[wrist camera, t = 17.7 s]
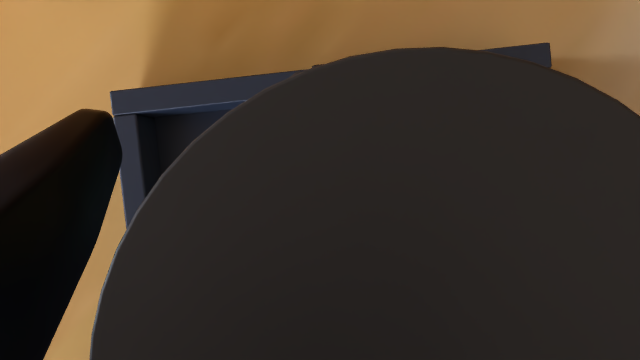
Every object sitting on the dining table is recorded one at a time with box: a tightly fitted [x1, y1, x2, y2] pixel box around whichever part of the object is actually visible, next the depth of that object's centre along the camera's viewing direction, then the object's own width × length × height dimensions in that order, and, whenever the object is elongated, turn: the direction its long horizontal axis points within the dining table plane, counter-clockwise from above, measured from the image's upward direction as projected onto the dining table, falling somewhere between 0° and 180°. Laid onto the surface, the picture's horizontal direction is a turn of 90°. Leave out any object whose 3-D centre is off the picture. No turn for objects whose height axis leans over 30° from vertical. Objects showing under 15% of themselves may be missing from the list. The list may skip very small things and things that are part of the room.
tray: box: [110, 43, 552, 229], centre depth 15 cm, size 16×12×2 cm
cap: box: [90, 47, 640, 360], centre depth 5 cm, size 5×5×3 cm
